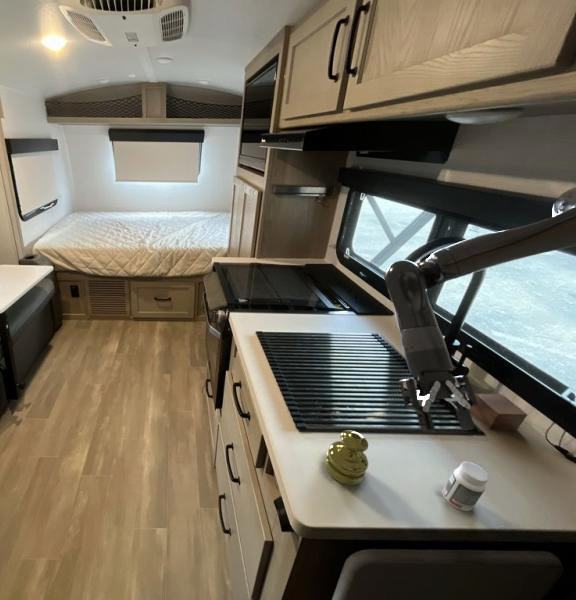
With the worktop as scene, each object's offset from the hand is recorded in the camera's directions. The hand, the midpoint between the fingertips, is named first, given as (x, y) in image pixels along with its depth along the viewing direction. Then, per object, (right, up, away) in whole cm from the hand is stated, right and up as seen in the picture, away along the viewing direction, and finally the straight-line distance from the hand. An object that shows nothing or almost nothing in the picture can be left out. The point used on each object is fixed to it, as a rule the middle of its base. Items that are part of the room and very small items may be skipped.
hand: (448, 430), depth 66 cm
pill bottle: (0, -13, -1) cm, 13 cm away
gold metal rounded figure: (-19, -10, +4) cm, 22 cm away
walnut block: (+26, -4, +18) cm, 32 cm away
